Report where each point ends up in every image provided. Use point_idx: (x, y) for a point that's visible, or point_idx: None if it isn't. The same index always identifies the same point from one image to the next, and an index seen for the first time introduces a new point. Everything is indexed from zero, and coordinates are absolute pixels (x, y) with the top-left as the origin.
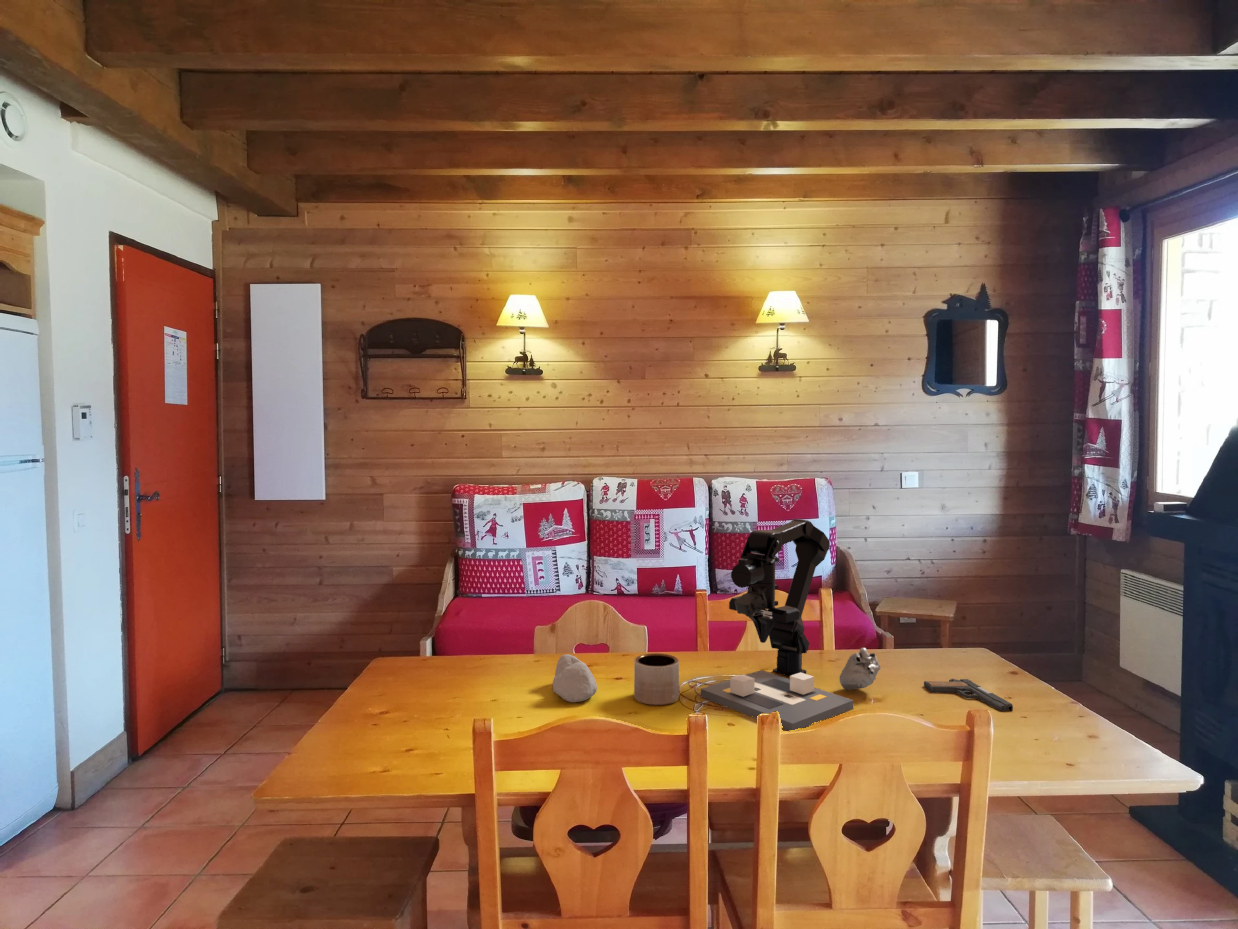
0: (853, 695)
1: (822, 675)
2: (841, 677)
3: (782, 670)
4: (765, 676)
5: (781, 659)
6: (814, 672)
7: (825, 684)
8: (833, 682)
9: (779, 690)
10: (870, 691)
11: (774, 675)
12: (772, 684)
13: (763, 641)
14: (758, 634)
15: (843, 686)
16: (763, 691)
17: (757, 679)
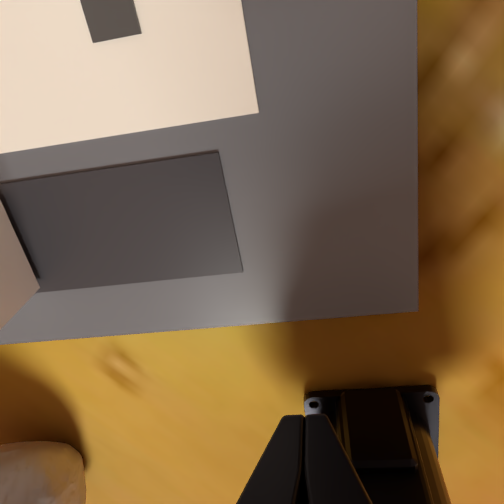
0: (10, 427)
1: None
2: (16, 477)
3: (356, 402)
4: (308, 255)
5: (372, 454)
6: None
7: (161, 435)
8: (168, 468)
9: (43, 154)
10: None
11: (290, 308)
12: (153, 188)
13: (276, 433)
14: (353, 499)
15: (34, 444)
16: (50, 32)
17: (291, 174)
